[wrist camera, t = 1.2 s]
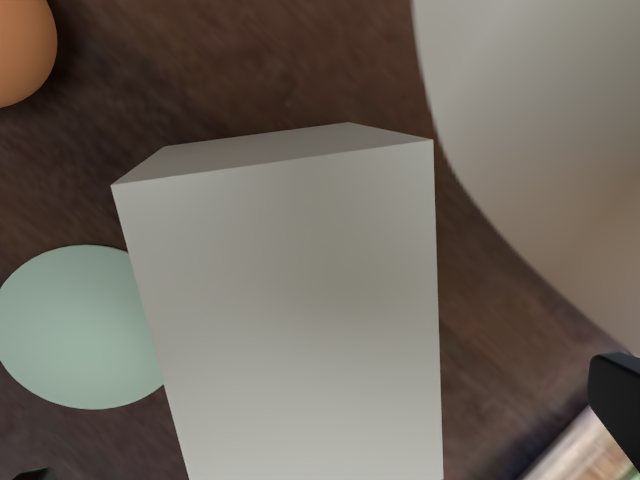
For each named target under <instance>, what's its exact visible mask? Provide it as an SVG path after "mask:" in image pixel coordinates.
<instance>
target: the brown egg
mask: <svg viewBox="0 0 640 480" xmlns="http://www.w3.org/2000/svg"><path fill="white" fill-rule="evenodd" d="M56 54H57V32H56V26H55V22H54V18H53V15H52V12H51V10H50V8H49V5H48V3H47V1H46V0H0V108H1V107H6V106H9V105H12V104H15V103H17V102H19V101H22V100H24V99H25V98H27V97H28V96H30V95H31V94H33V93H34V92H35V91H36V90H38V89H39V88H40V87H41V86H42V84H43V83H44V82H45V81H46V79H47V78H48V76H49V74H50V72H51V70H52V68H53V65H54V62H55V58H56Z"/></svg>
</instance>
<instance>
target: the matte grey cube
mask: <svg viewBox="0 0 640 480" xmlns="http://www.w3.org/2000/svg"><path fill="white" fill-rule="evenodd" d="M110 186H111V189H112V193H113V197H114V200H115V204H116V208H117V212H118V215H119V219H120V223H121V227H122V230H123V234H124V238H125V241H126V245H127V249H128V253H129V256H130V260H131V264H132V268H133V271H134V275H135V279H136V282H137V286H138V290H139V294H140V297H141V301H142V305H143V309H144V312H145V316H146V320H147V323H148V327H149V331H150V335H151V338H152V342H153V346H154V349H155V353H156V357H157V361H158V364H159V368H160V372H161V376H162V379H163V383H164V387H165V390H166V394H167V398H168V402H169V405H170V409H171V413H172V417H173V420H174V424H175V428H176V431H177V435H178V439H179V443H180V446H181V450H182V454H183V458H184V461H185V465H186V469H187V472H188V476H189V480H442V479H443V453H442V420H441V387H440V353H439V320H438V287H437V253H436V220H435V186H434V153H433V140H432V139H427V138H422V137H418V136H413V135H408V134H403V133H398V132H393V131H389V130H384V129H379V128H374V127H369V126H364V125H359V124H355V123H350V122H346V123H338V124H331V125H323V126H315V127H308V128H300V129H293V130H285V131H277V132H270V133H262V134H254V135H247V136H239V137H232V138H224V139H216V140H209V141H201V142H194V143H186V144H178V145H171V146H164V147H163V148H161V149H160V150H159V151H157V152H156V153H154V154H153V155H152V156H150V157H149V158H147V159H146V160H145V161H143V162H142V163H141V164H139V165H138V166H136V167H135V168H134V169H132V170H131V171H129V172H128V173H127V174H125V175H124V176H123V177H121V178H120V179H118V180H117V181H116V182H114V183H113V184H111V185H110Z"/></svg>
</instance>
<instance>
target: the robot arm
mask: <svg viewBox="0 0 640 480" xmlns="http://www.w3.org/2000/svg"><path fill="white" fill-rule="evenodd" d="M587 399H588V402H589V405H590V407H591V408H592V410H593V411H594V413H595V414H596V415H597V417H598V418H599V419H600V421H601V422H602V423H603V425H604V426H605V427H606V429H607V430H608V431H609V433H610V434H611V435H612V437H613V438H614V439H615V441H616V442H617V443H618V445H619V446H620V447H621V449H622V450H623V451H624V453H625V454H626V455H627V457H628V458H629V459H630V461H631V462H632V463H633V465H634V466H635V467H636V469H637V470H638V471H639V473H640V358H638V357H634V356H631V355H628V354H624V353H621V352H609V353H604V354H599V355H596V356H594V357H593V358H592V360H591V361H590V367H589V376H588V385H587ZM12 480H59V478H58V475H57V473H56V471H55V470H54V469H53V468H51V467H43V468H38V469H33V470H28V471H25V472H22V473H20V474H19V475H17V476H16V477H15V478H14V479H12Z"/></svg>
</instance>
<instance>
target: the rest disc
mask: <svg viewBox="0 0 640 480" xmlns="http://www.w3.org/2000/svg"><path fill="white" fill-rule="evenodd" d="M0 361H1V362H2V364H3V365H4V367H5V368H6V370H7V371H8V372H9V373H10V374H11V375H12V377H13V378H14V379H16V380H17V381H18V382H19V383H20V384H21V385H22V386H24V387H25V388H27V389H28V390H29V391H31V392H32V393H34V394H36V395H38V396H40V397H42V398H44V399H46V400H48V401H51V402H53V403H57V404H60V405H63V406H67V407H73V408H79V409H106V408H114V407H118V406H122V405H126V404H129V403H132V402H135V401H137V400H139V399H142V398H144V397H146V396H148V395H149V394H151V393H152V392H154V391H155V390H157V389H158V388H159V387H160V386H162V385H163V384H164V383H163V379H162V376H161V372H160V368H159V364H158V361H157V357H156V353H155V349H154V346H153V342H152V338H151V335H150V331H149V327H148V323H147V320H146V316H145V312H144V309H143V305H142V301H141V297H140V294H139V290H138V286H137V282H136V279H135V275H134V271H133V268H132V264H131V260H130V256H129V253H128V252H127V251H124V250H121V249H117V248H113V247H108V246H102V245H89V244H83V245H70V246H65V247H60V248H56V249H53V250H50V251H47V252H44V253H42V254H40V255H38V256H36V257H34V258H32V259H31V260H29V261H28V262H26V263H25V264H23V265H22V266H21V267H19V268H18V269H17V270H16V271H15V272H14V273H12V274H11V276H10V277H9V278H8V279H7V280H6V281H5V283H4V284H3V286H2V287H1V289H0Z"/></svg>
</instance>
